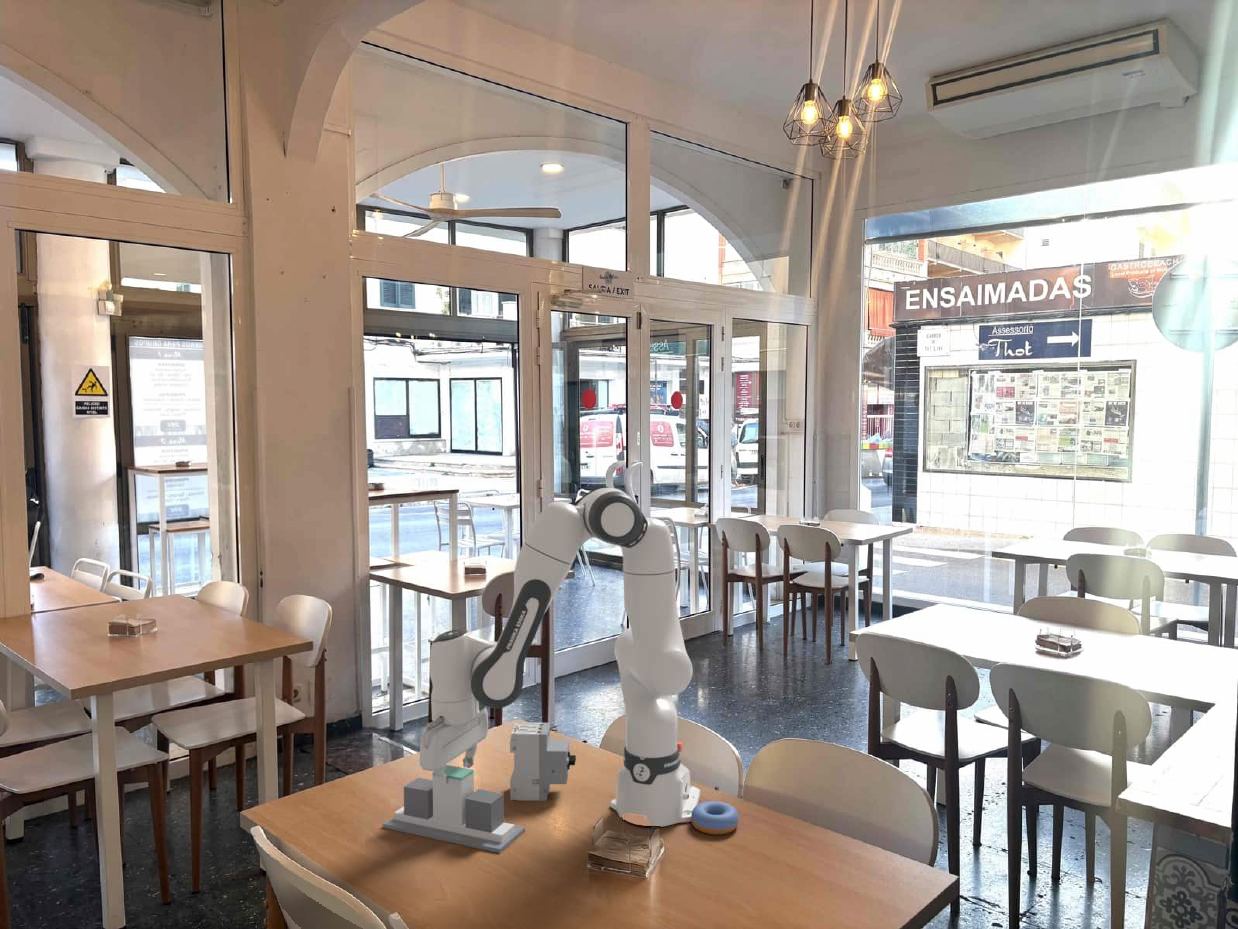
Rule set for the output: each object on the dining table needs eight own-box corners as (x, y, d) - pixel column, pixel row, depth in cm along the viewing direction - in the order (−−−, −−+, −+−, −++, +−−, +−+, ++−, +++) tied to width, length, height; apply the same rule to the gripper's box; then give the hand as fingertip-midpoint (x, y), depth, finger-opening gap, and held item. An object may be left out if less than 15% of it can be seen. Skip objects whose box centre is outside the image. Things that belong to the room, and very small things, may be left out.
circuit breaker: (574, 801, 198) (574, 734, 197) (510, 800, 198) (509, 734, 197) (576, 787, 205) (576, 723, 204) (514, 786, 205) (514, 722, 205)
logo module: (445, 811, 187) (444, 764, 187) (473, 817, 184) (473, 769, 184) (433, 820, 183) (432, 772, 182) (462, 826, 180) (461, 778, 180)
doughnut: (733, 839, 179) (733, 816, 179) (685, 834, 182) (685, 811, 183) (743, 823, 189) (742, 801, 189) (697, 818, 192) (697, 797, 192)
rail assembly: (411, 808, 194) (411, 770, 193) (524, 831, 183) (524, 792, 183) (382, 827, 185) (382, 788, 184) (500, 853, 174) (499, 811, 173)
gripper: (437, 728, 172) (440, 798, 173) (492, 696, 191) (494, 759, 191) (410, 725, 174) (413, 793, 175) (467, 693, 193) (469, 755, 194)
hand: (456, 775), depth 183 cm, fingers open, 8 cm apart
